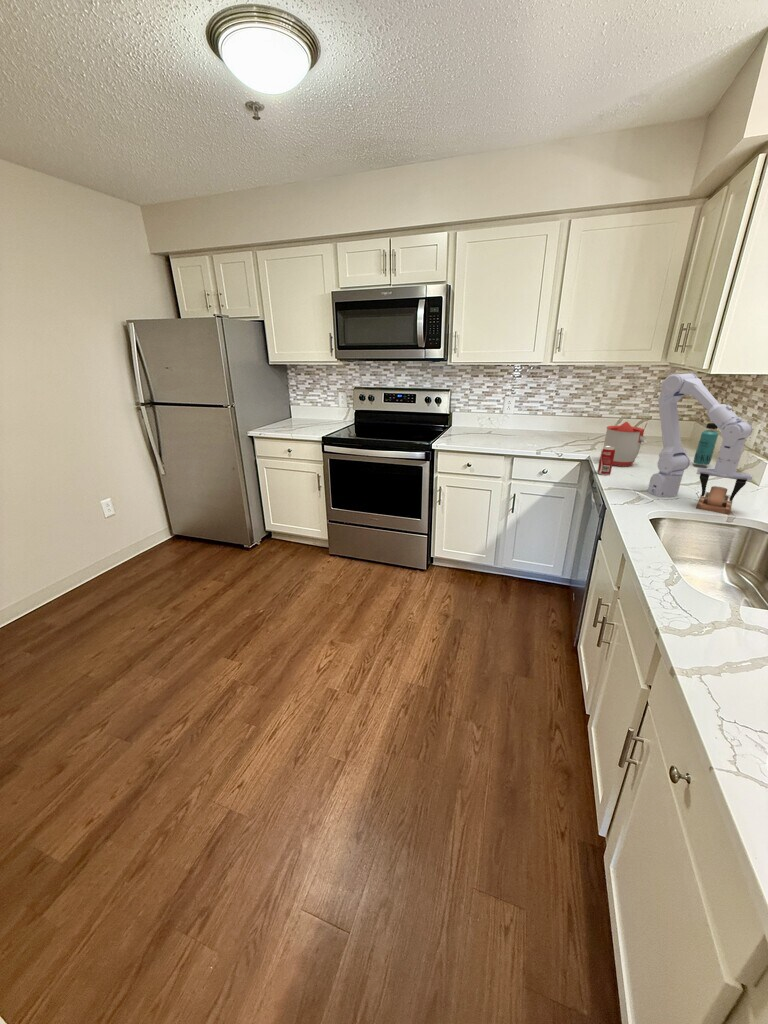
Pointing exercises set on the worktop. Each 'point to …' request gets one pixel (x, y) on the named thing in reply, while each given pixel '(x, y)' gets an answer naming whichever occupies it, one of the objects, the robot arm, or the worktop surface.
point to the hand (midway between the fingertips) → (716, 497)
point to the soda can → (606, 460)
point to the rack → (724, 509)
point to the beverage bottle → (706, 445)
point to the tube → (717, 496)
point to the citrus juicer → (624, 443)
